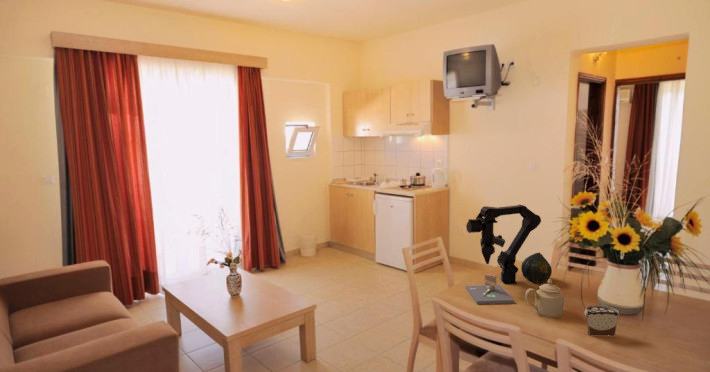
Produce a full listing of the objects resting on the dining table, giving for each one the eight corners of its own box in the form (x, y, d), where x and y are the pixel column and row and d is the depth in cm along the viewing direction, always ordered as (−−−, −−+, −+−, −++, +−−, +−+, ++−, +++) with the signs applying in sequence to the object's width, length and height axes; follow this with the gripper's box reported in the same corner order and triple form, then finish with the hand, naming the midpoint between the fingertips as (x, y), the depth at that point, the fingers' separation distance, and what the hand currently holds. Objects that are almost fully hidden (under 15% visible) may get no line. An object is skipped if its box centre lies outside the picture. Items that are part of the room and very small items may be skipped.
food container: (610, 328, 164) (612, 304, 163) (619, 336, 158) (620, 311, 157) (577, 328, 165) (579, 304, 164) (584, 335, 159) (586, 310, 158)
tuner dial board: (499, 287, 209) (499, 284, 209) (514, 303, 190) (514, 299, 190) (465, 288, 209) (465, 285, 209) (476, 304, 190) (476, 300, 190)
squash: (521, 274, 211) (542, 252, 210) (511, 266, 226) (530, 246, 225) (542, 292, 212) (563, 270, 210) (531, 283, 227) (550, 262, 225)
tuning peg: (486, 286, 206) (487, 273, 205) (497, 289, 203) (497, 275, 202) (478, 294, 197) (478, 280, 196) (488, 296, 194) (489, 282, 193)
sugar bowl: (545, 322, 171) (547, 287, 169) (523, 312, 181) (524, 279, 179) (568, 313, 178) (570, 280, 176) (545, 304, 188) (546, 272, 186)
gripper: (506, 236, 200) (505, 268, 202) (502, 227, 218) (502, 256, 220) (481, 235, 203) (481, 266, 205) (480, 227, 221) (480, 255, 223)
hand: (487, 261), depth 213 cm, fingers open, 9 cm apart
